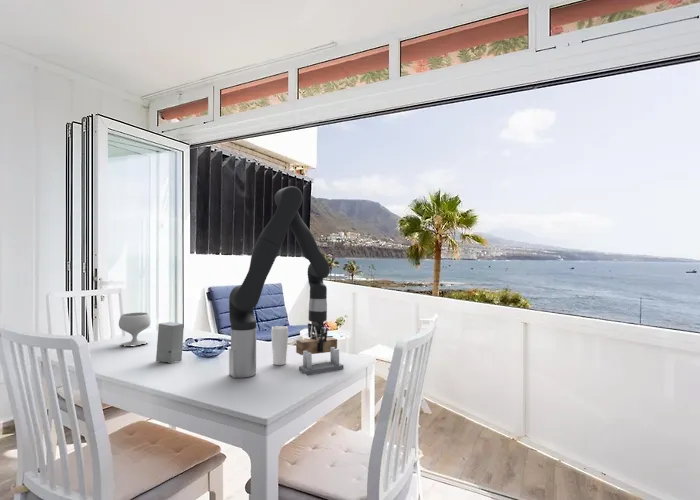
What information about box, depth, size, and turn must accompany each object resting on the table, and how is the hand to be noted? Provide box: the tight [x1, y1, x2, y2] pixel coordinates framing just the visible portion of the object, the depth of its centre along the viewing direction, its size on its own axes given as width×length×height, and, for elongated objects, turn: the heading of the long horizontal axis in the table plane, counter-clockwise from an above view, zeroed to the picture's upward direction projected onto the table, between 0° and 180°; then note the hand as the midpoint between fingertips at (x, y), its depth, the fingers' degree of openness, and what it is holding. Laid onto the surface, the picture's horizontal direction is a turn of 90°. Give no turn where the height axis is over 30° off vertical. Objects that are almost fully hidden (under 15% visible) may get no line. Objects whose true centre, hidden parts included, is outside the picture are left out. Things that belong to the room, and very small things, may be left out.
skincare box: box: [155, 321, 185, 364], centre depth 172 cm, size 8×7×16 cm
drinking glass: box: [270, 325, 289, 366], centre depth 167 cm, size 7×7×15 cm
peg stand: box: [298, 347, 345, 376], centre depth 159 cm, size 16×7×8 cm, turn 121°
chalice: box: [118, 312, 151, 347], centre depth 202 cm, size 14×14×15 cm
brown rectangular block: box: [295, 336, 338, 356], centre depth 168 cm, size 16×6×5 cm, turn 121°
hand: (316, 350), depth 168 cm, fingers closed on brown rectangular block, 5 cm apart
